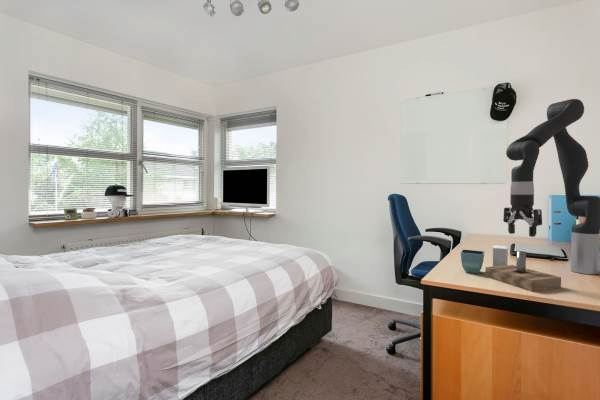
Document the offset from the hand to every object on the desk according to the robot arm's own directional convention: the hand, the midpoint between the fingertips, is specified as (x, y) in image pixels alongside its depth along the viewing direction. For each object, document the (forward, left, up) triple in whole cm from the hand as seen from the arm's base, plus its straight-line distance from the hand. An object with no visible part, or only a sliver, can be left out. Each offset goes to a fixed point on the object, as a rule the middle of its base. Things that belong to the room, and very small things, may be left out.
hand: (521, 235), depth 125 cm
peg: (0, 0, -19) cm, 19 cm away
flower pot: (+6, -18, -19) cm, 27 cm away
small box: (-8, -17, -19) cm, 27 cm away
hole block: (0, 0, -19) cm, 19 cm away
